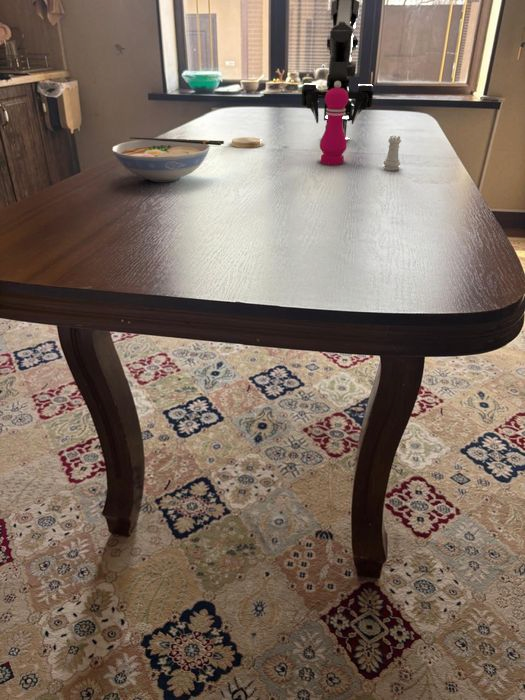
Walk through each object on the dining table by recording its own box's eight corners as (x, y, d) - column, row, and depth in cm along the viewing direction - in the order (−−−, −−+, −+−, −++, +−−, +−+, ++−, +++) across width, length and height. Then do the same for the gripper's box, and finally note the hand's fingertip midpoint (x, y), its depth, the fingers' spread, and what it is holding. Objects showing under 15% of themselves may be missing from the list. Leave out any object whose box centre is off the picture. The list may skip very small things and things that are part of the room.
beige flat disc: (250, 141, 170) (250, 136, 170) (267, 145, 164) (267, 140, 163) (225, 144, 165) (225, 139, 165) (242, 148, 159) (242, 143, 158)
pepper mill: (315, 164, 141) (320, 81, 131) (323, 158, 147) (328, 79, 136) (341, 166, 139) (348, 82, 128) (348, 161, 144) (355, 80, 134)
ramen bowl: (92, 185, 121) (86, 147, 116) (144, 165, 139) (140, 132, 135) (189, 195, 113) (186, 156, 109) (230, 173, 132) (229, 138, 127)
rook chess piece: (401, 168, 137) (405, 135, 133) (397, 171, 134) (402, 138, 129) (384, 166, 139) (388, 134, 134) (380, 170, 135) (384, 137, 131)
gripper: (303, 48, 134) (298, 100, 130) (377, 49, 132) (374, 101, 128) (304, 80, 145) (299, 129, 141) (372, 81, 143) (369, 131, 139)
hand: (334, 122), depth 137 cm, fingers open, 9 cm apart
